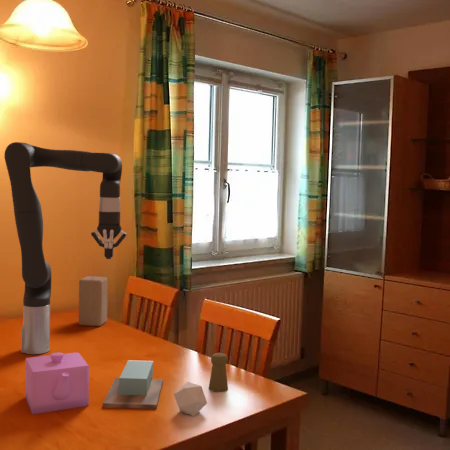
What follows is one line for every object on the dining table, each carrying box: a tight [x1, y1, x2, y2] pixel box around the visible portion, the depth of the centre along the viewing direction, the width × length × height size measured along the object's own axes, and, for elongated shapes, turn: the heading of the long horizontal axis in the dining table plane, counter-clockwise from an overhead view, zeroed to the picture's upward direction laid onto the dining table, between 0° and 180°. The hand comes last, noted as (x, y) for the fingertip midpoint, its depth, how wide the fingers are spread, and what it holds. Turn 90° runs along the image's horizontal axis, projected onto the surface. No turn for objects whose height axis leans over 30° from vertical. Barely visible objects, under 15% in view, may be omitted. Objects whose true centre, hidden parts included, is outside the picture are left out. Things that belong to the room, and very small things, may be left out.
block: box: [78, 275, 109, 327], centre depth 245 cm, size 10×10×20 cm
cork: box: [208, 352, 229, 393], centre depth 175 cm, size 6×6×11 cm
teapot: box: [24, 351, 90, 415], centre depth 160 cm, size 15×25×14 cm, turn 27°
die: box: [173, 381, 208, 417], centre depth 157 cm, size 8×9×10 cm
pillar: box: [118, 359, 154, 396], centre depth 172 cm, size 8×5×16 cm
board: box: [102, 377, 164, 410], centre depth 168 cm, size 15×20×1 cm
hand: (108, 258), depth 201 cm, fingers closed
